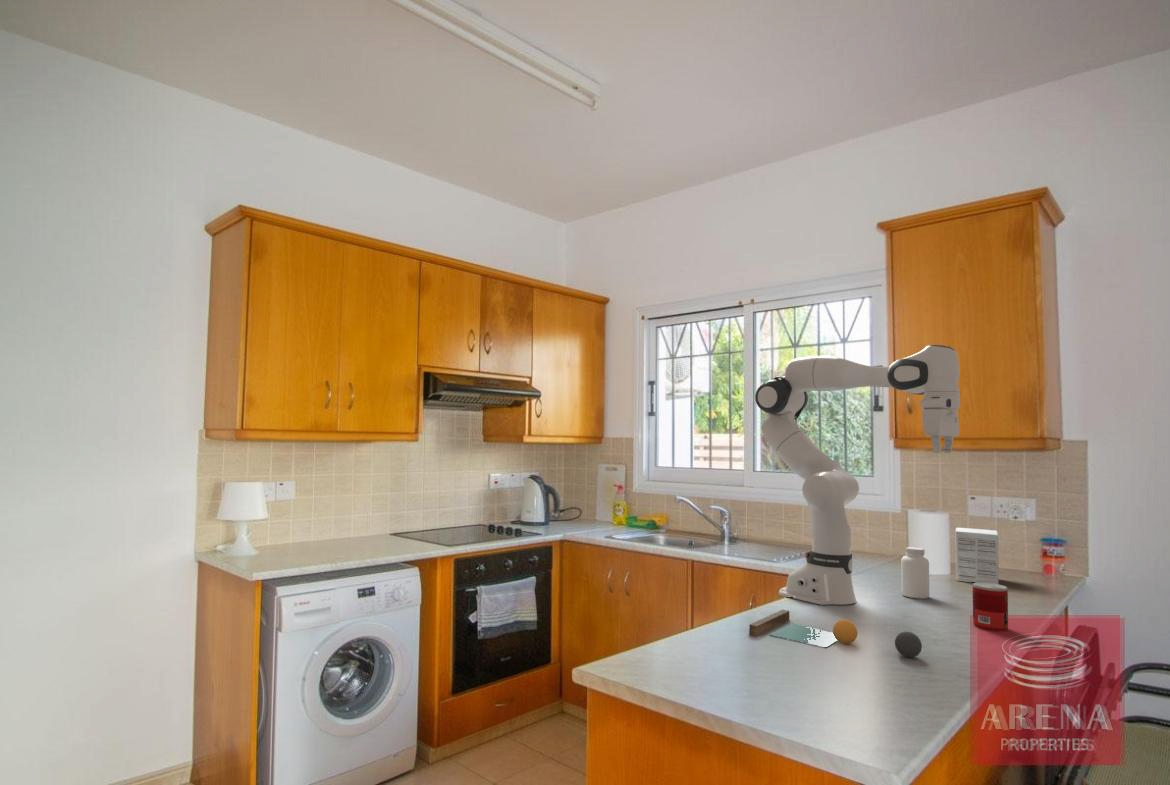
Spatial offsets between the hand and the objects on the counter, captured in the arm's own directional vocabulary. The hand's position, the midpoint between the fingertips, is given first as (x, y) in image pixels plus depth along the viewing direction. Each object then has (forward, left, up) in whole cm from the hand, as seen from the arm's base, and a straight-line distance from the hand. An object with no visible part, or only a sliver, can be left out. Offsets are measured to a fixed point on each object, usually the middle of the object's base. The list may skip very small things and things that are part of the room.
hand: (942, 452), depth 184 cm
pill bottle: (-14, +27, -46) cm, 55 cm away
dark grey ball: (0, -39, -43) cm, 58 cm away
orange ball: (-14, -39, -43) cm, 60 cm away
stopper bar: (-33, -39, -46) cm, 68 cm away
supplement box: (-4, +71, -46) cm, 85 cm away
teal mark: (-23, -39, -46) cm, 64 cm away
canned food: (+10, +3, -46) cm, 47 cm away
